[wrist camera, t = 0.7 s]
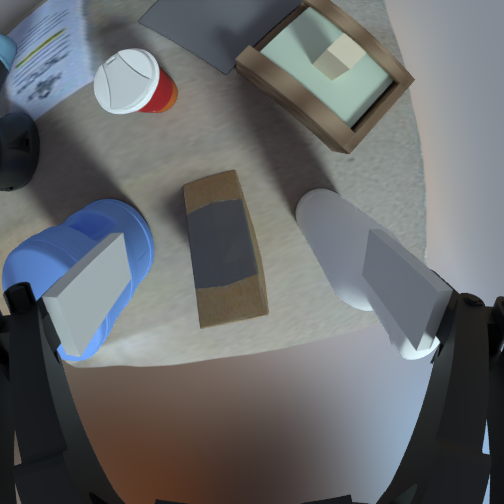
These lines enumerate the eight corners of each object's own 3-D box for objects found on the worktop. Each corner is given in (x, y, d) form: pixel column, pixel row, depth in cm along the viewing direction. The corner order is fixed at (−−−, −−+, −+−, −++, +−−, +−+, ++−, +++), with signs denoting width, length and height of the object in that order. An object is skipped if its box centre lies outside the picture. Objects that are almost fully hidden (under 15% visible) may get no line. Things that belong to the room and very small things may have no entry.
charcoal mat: (138, 22, 29) (138, 21, 29) (214, -46, 24) (214, -47, 24) (226, 75, 34) (226, 74, 34) (303, 2, 29) (304, 1, 28)
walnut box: (237, 72, 34) (235, 58, 27) (303, 9, 29) (313, -11, 23) (332, 151, 38) (349, 154, 32) (390, 86, 34) (414, 79, 27)
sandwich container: (236, 167, 40) (231, 182, 26) (263, 261, 45) (270, 315, 31) (181, 184, 40) (148, 209, 26) (212, 274, 46) (199, 331, 32)
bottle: (301, 182, 40) (404, 278, 13) (349, 193, 41) (487, 290, 13) (289, 232, 43) (350, 387, 16) (336, 241, 44) (435, 380, 16)
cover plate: (250, 63, 29) (251, 44, 22) (312, 5, 26) (326, -20, 18) (339, 137, 33) (362, 138, 26) (394, 77, 29) (424, 68, 22)
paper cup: (128, 91, 34) (80, 76, 21) (170, 62, 33) (136, 32, 20) (151, 130, 37) (108, 129, 24) (194, 101, 35) (169, 84, 23)
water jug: (173, 262, 45) (106, 398, 19) (108, 295, 47) (33, 408, 22) (125, 179, 40) (-9, 246, 14) (63, 225, 42) (-47, 305, 16)
